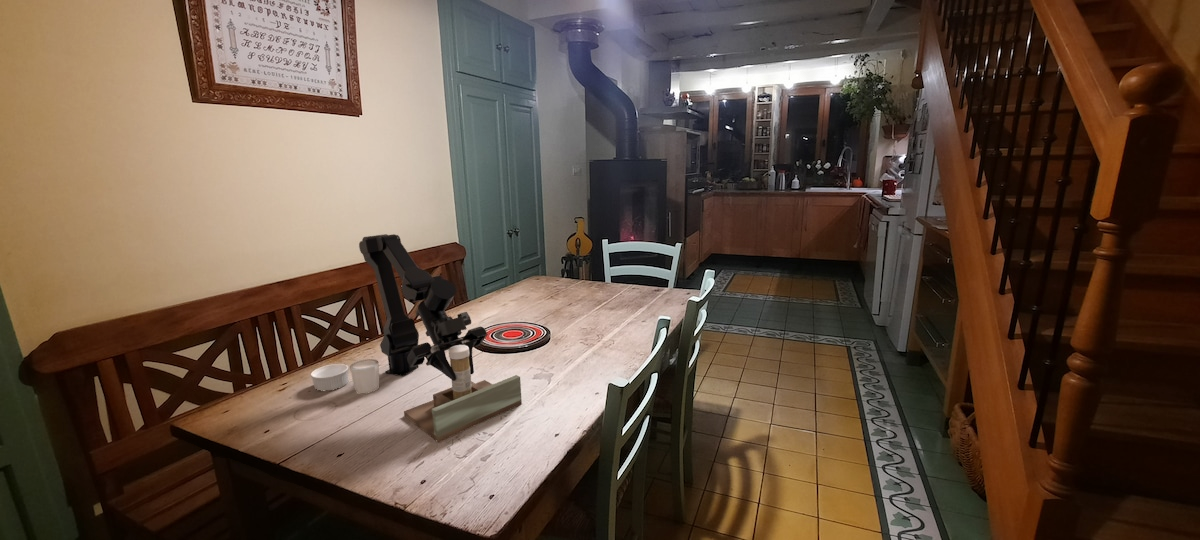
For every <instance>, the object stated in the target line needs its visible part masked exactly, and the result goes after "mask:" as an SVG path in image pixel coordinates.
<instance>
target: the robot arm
mask: <svg viewBox="0 0 1200 540" xmlns="http://www.w3.org/2000/svg"><path fill="white" fill-rule="evenodd" d="M358 248H359V251H360V254H362V257H363V258H364V262H365V263H367V264H368V265H369V266H370V267H371V268H373V271H374V275H375V276H374V277H375V279H376V282H377V287H378V290H379V294H380V299H381V302H382V305H383V309H384V312H385V317H386V321H385V324H384V327H383V334H384V335H383V338H382V340H381V342H380V344H379V348H380V350H381V353H382V354H384V355H385V356H387V362H388V369H386V370H385V374H388V375H395V376H400V377H403V376H406V375H408V374H409V373H411V372H413V371H414V370H416V369H418V368H419V366H421V365H423V364H424V362H425V359H426V360H427V361H426V363H425V365H426V367H427V366H431V367H433V368H434V369H436V370H438V371H439V372H441V373H443V374H444V375H445V376H446V377H447V378H448V379H451V381H452V380H453V381H455V380H456V376H455V374H454V372H453V370H452V368H451V363H450V362H449V361H448V358H447V357H446V351H449V349H450V348H451V347H453V346H456V345H466V346H468V347H469V364H470V372H471V375H474V372H475V370H474V359H473V348H476V347H478V346H480V345H482V343H483V342H484V340H485V339H486V337H487V336H488V335H489V334H488V332H487V329H486V328H485V327H482V326H478V327H474V328H471V329H467V326H469V325H471V324H472V319H471V316H470V315H469V313H468V312H467V311H464V312H460V313H459V314H457V317H455V318H453V317H452V316H451V315H450V316H448V314H447V312H446V309H448V307H449V306H450V304H451V302H452V301H453V298H454V297H455V295H456V293H457V288H456V285H455V284H454V283H452V282H451V281H450V280H448V279H445V278H443V277H442V275H434V276H432V275H431V274H430V273H429V272H428V271H427V270H424V269H422V268H419V266H418V265H417V263H415V261H414V259H413V257H412V256H411V255H410V254H409V252H408V250H407V249H406V247H405V246H404V245H403V244H402V241H401V238H400V236H399V234H387V233H386V234H384V233H383V234H376V235H368V236H364V237H362V240H361V241H359V243H358ZM394 269H395V272H396V273H397V275H398V276H399V278H400V280H401V281H402V284H401V290H402V295H403V296H404V298H405V300H407V301H408V302H409V303H417V302H420V303H419V304H418V305H417V308H416V311H415V313H416V314H415V315H416V317H419V316H420V319H421V321H422V322H423V325H424V328H425V329H426V332H425V335H426V337H430V339H431V342H432V344H433V345H432V344H431V343H429V342H423V343H420V344H419V337H420V335H419V334H420V333H419V331H418V328H417V327H416V323H415V320H414V319H413V318H412V317H411V318H410V317H409V316H408V315H407V314H406V313H405V309H404V305H403V302H402V298H401V296H400V295H401V294H400V292H399V287H398V283H397V280H396V275H395V272H394ZM465 330H467V332H466V333H465V335H464V336H461V335H462V333H463V332H462V331H465ZM459 336H460V337H459Z"/></svg>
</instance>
